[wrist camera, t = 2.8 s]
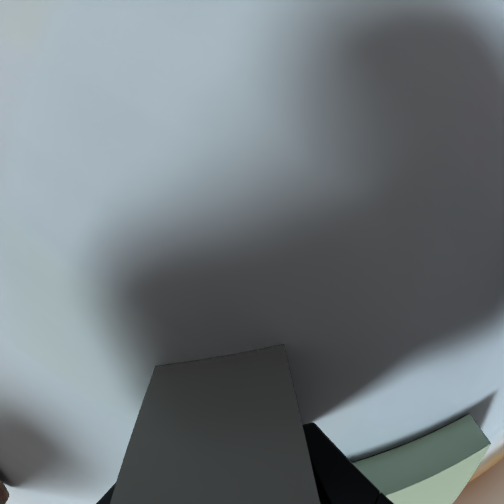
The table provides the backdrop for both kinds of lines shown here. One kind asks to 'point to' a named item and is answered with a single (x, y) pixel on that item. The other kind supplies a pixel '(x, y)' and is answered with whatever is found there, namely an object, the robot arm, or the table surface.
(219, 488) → the block
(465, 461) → the socket box
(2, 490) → the brown cylinder
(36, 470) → the table surface
